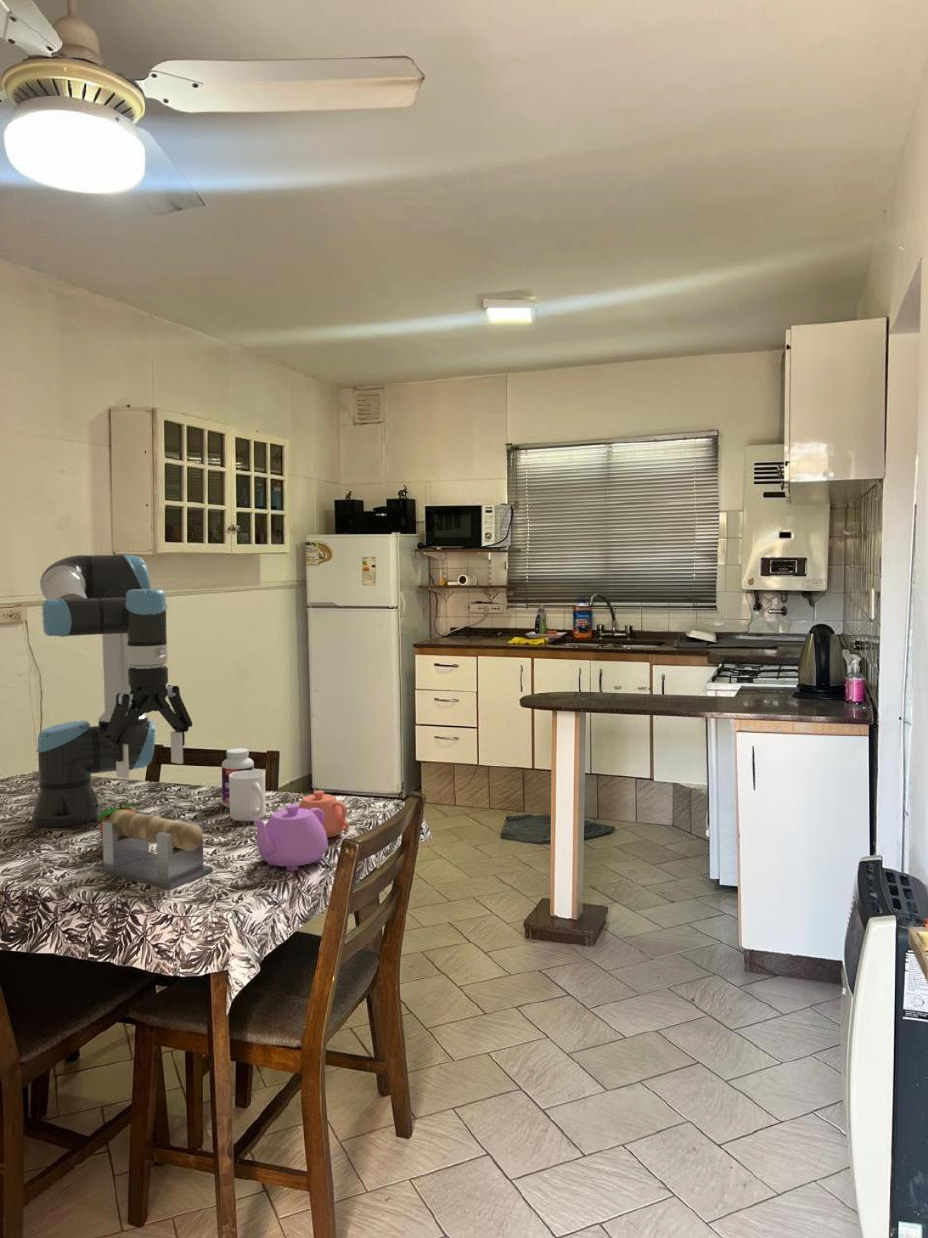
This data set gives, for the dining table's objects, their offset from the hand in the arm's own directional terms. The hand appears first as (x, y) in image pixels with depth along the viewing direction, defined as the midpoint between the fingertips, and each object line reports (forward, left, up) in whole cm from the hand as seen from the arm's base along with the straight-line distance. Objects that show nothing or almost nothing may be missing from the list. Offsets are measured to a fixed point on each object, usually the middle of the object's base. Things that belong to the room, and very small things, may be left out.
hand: (150, 769), depth 176 cm
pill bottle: (-19, +43, -21) cm, 52 cm away
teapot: (+22, +16, -21) cm, 35 cm away
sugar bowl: (+16, +34, -21) cm, 43 cm away
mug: (-8, +36, -21) cm, 43 cm away
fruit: (-18, +6, -21) cm, 28 cm away
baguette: (+1, -1, -15) cm, 15 cm away
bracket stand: (0, -1, -21) cm, 21 cm away
